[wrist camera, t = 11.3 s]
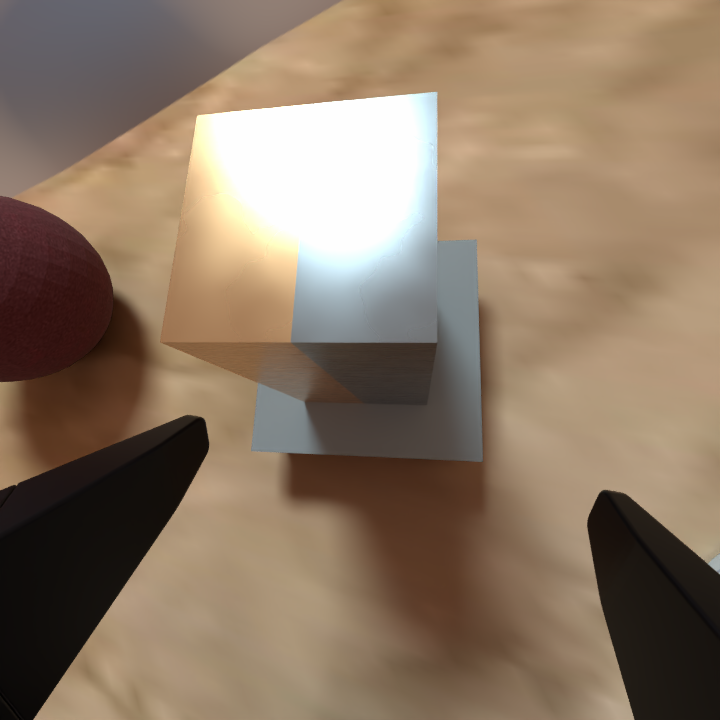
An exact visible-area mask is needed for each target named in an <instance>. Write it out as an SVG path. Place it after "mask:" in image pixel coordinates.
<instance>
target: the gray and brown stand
mask: <svg viewBox="0 0 720 720" xmlns="http://www.w3.org/2000/svg"><path fill="white" fill-rule="evenodd" d="M251 451H260V452H282V453H304V454H325V455H347V456H368V457H390V458H412V459H433V460H455V461H477V462H483V447H482V412H481V377H480V342H479V307H478V272H477V240H456V241H437V348H436V354H435V360H434V366H433V372H432V378H431V384H430V390H429V396H428V402H427V405H401V404H363V403H325V402H303V401H301V400H299V399H296V398H294V397H291V396H289V395H286V394H284V393H282V392H279V391H277V390H274V389H272V388H269V387H267V386H265V385H262V384H260V383H258V389H257V399H256V409H255V419H254V429H253V439H252V448H251Z"/></svg>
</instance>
